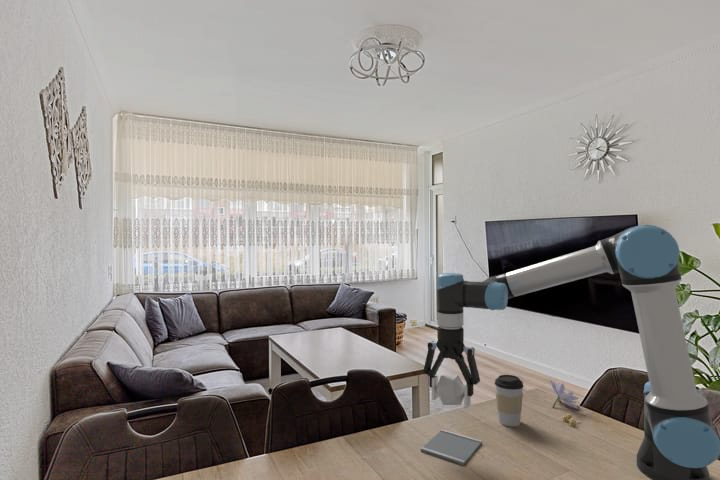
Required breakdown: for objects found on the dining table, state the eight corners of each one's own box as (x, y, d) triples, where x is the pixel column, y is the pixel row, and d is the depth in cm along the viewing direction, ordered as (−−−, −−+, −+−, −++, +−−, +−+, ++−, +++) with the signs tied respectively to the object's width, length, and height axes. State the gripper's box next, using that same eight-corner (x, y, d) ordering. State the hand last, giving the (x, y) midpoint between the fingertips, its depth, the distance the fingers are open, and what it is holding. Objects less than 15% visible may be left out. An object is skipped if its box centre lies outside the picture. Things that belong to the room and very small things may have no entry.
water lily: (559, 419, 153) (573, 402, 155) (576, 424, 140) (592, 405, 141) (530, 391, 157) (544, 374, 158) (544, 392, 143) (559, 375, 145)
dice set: (572, 428, 134) (572, 422, 134) (558, 422, 138) (558, 416, 138) (583, 425, 136) (583, 419, 136) (569, 419, 141) (569, 413, 141)
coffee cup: (489, 419, 140) (488, 374, 140) (509, 413, 144) (508, 370, 144) (509, 430, 132) (508, 383, 132) (530, 424, 136) (529, 378, 136)
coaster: (481, 443, 124) (481, 440, 124) (463, 465, 113) (463, 462, 113) (441, 431, 132) (441, 429, 132) (420, 451, 120) (420, 448, 120)
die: (460, 414, 116) (474, 382, 119) (432, 397, 117) (447, 366, 120) (453, 412, 124) (467, 383, 127) (428, 396, 125) (442, 368, 128)
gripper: (492, 328, 118) (492, 406, 119) (422, 319, 131) (423, 390, 132) (483, 334, 112) (483, 416, 113) (410, 324, 125) (411, 398, 125)
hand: (450, 402), depth 122 cm, fingers closed on die, 9 cm apart
